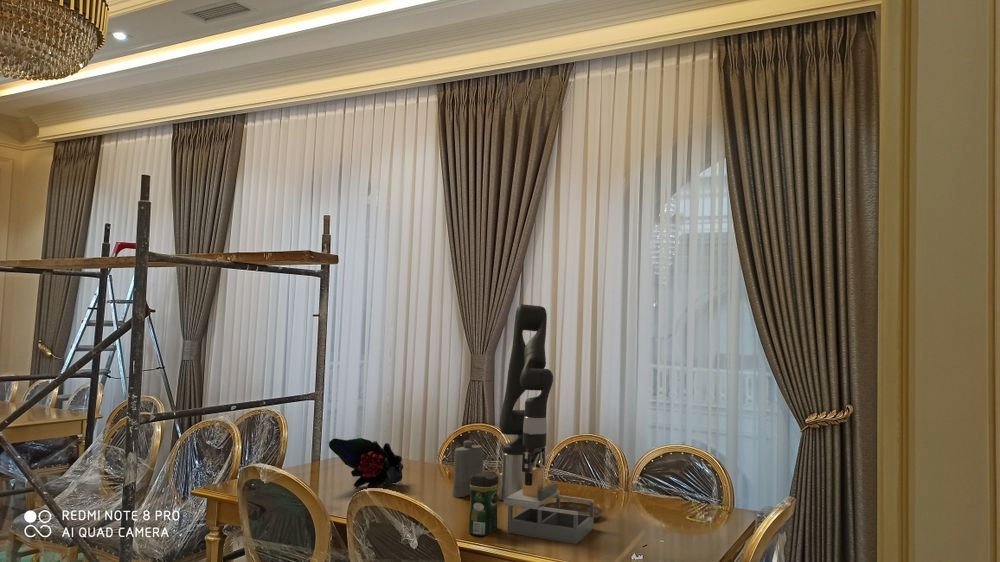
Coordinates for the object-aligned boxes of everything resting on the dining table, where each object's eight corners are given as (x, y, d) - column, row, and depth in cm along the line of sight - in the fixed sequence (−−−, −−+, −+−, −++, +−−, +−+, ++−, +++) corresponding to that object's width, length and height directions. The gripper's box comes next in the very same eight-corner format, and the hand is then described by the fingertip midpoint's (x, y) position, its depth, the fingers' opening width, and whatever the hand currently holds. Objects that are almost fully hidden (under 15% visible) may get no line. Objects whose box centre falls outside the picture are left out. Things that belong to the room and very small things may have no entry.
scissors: (703, 526, 235) (704, 512, 235) (676, 519, 241) (677, 505, 241) (732, 513, 254) (733, 500, 254) (707, 507, 260) (707, 494, 260)
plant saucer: (604, 513, 245) (605, 504, 245) (601, 529, 225) (601, 519, 225) (546, 508, 249) (547, 499, 249) (538, 523, 229) (538, 513, 229)
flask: (472, 489, 273) (474, 438, 275) (484, 492, 270) (486, 439, 272) (448, 496, 261) (450, 442, 262) (460, 498, 258) (462, 444, 259)
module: (522, 494, 219) (523, 469, 220) (528, 491, 224) (529, 466, 224) (537, 496, 217) (538, 470, 218) (542, 493, 222) (543, 468, 222)
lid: (503, 503, 213) (504, 488, 214) (527, 491, 231) (528, 477, 232) (538, 508, 209) (538, 493, 209) (559, 495, 227) (559, 481, 227)
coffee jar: (478, 527, 221) (480, 468, 223) (500, 530, 218) (502, 470, 219) (463, 534, 213) (466, 473, 214) (487, 538, 209) (489, 476, 211)
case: (507, 535, 213) (508, 502, 214) (528, 521, 229) (529, 491, 230) (576, 547, 204) (577, 512, 205) (593, 531, 221) (594, 499, 221)
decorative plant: (399, 509, 275) (358, 504, 249) (354, 475, 287) (311, 467, 261) (426, 463, 277) (388, 453, 251) (380, 431, 290) (340, 418, 264)
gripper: (532, 427, 230) (530, 477, 229) (515, 432, 217) (513, 485, 216) (553, 429, 227) (551, 480, 226) (538, 435, 214) (536, 488, 213)
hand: (533, 482), depth 221 cm, fingers open, 8 cm apart
